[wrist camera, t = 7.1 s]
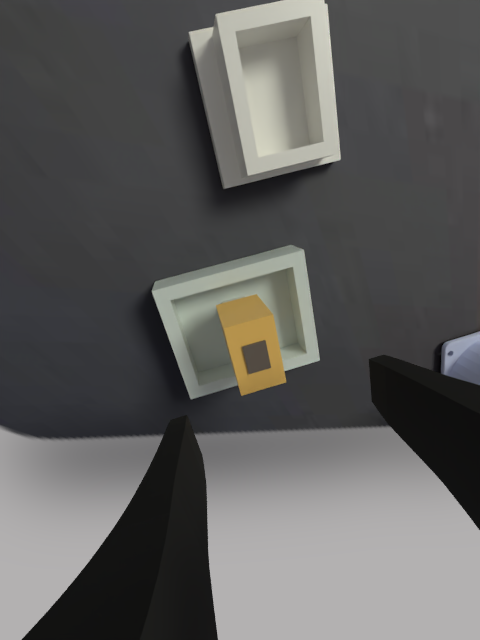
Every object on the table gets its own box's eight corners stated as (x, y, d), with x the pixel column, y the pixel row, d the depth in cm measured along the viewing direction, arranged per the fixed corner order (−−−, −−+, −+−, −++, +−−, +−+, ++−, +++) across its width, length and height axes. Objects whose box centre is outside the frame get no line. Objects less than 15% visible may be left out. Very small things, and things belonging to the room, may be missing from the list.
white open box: (334, 161, 18) (357, 155, 16) (223, 189, 18) (229, 186, 15) (320, 12, 16) (345, -21, 13) (188, 40, 15) (190, 9, 13)
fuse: (261, 340, 21) (287, 383, 16) (227, 350, 21) (241, 396, 16) (250, 286, 20) (273, 315, 15) (212, 296, 19) (223, 329, 14)
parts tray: (307, 345, 23) (319, 360, 21) (189, 380, 22) (190, 399, 20) (290, 244, 20) (303, 249, 18) (155, 281, 19) (151, 291, 17)
